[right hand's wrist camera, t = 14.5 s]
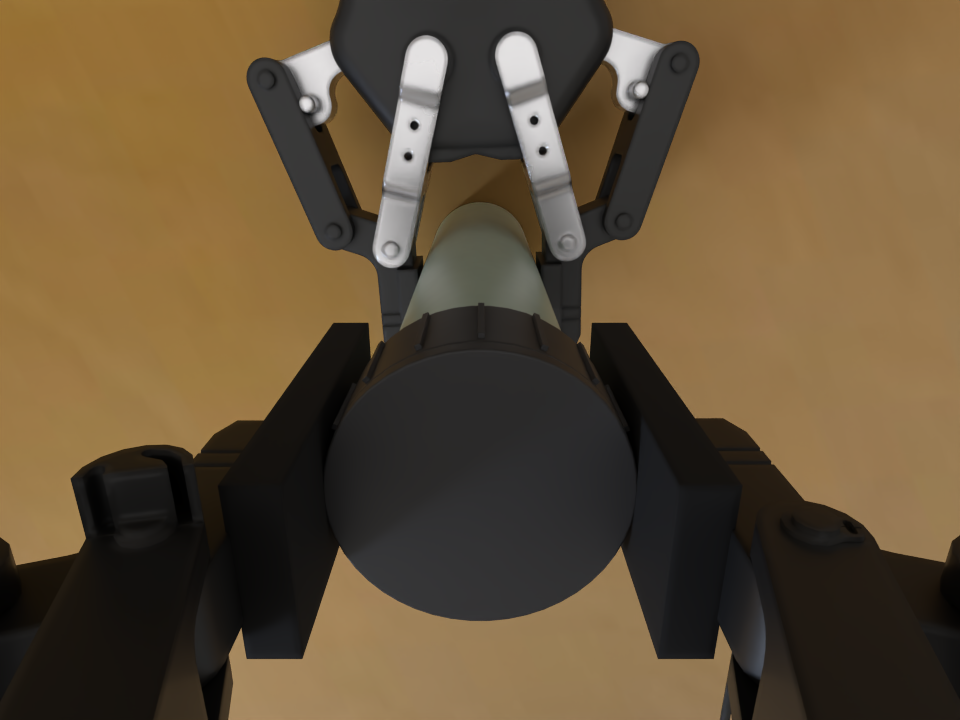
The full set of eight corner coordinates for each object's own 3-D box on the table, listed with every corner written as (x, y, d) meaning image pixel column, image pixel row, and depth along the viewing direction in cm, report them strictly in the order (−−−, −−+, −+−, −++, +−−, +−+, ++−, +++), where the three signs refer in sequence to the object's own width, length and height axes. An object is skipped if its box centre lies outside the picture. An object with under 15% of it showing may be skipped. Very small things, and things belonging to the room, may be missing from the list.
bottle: (424, 211, 28) (321, 388, 10) (518, 193, 28) (591, 340, 9) (444, 301, 29) (386, 602, 11) (533, 285, 29) (622, 565, 11)
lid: (316, 330, 11) (278, 380, 9) (594, 278, 11) (621, 318, 9) (383, 556, 13) (365, 643, 11) (626, 518, 13) (655, 599, 11)
